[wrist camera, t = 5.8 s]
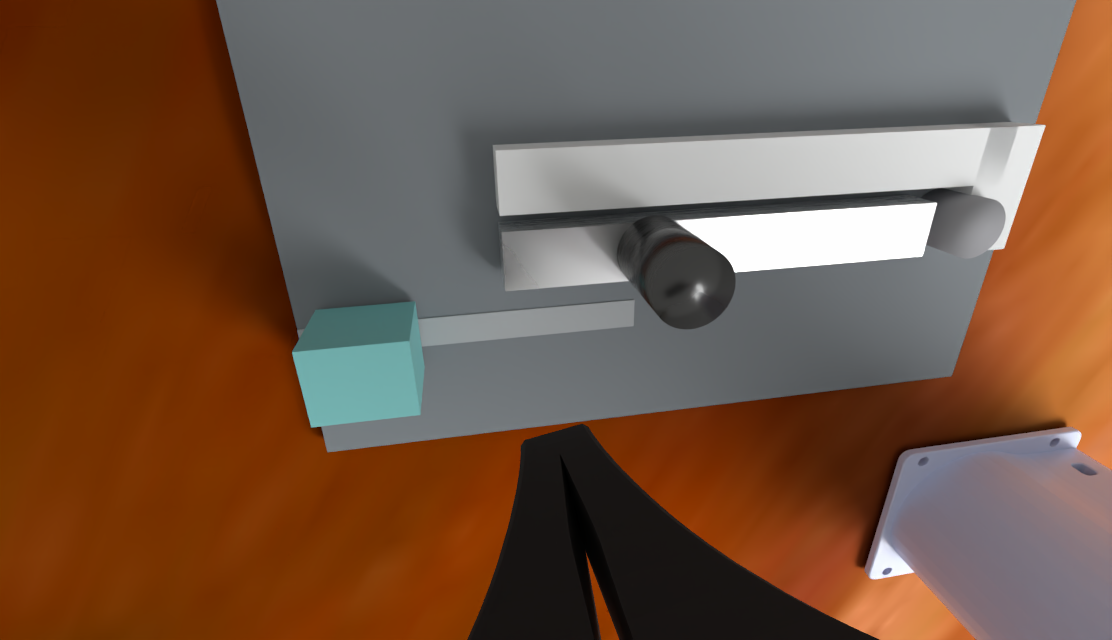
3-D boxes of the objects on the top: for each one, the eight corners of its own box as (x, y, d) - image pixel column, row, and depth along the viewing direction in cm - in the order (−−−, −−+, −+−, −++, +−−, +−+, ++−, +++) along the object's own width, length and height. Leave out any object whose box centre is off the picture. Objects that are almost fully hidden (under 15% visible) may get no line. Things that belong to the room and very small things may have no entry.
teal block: (415, 301, 17) (409, 341, 15) (424, 367, 18) (420, 415, 16) (315, 309, 17) (292, 352, 14) (330, 376, 18) (311, 427, 15)
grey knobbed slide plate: (1072, -48, 17) (1162, -64, 15) (940, 368, 23) (989, 399, 21) (211, -55, 13) (165, -78, 11) (330, 441, 20) (316, 487, 18)
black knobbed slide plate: (911, 188, 19) (1034, 222, 15) (895, 251, 19) (1007, 297, 16) (497, 215, 16) (512, 261, 13) (502, 283, 17) (517, 346, 13)
